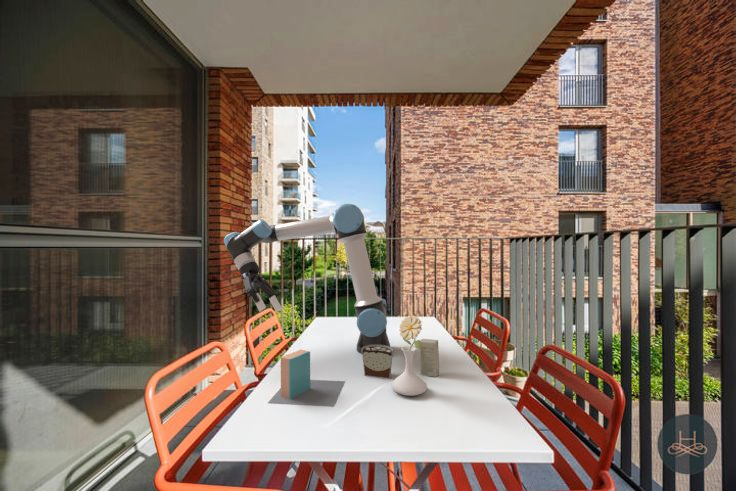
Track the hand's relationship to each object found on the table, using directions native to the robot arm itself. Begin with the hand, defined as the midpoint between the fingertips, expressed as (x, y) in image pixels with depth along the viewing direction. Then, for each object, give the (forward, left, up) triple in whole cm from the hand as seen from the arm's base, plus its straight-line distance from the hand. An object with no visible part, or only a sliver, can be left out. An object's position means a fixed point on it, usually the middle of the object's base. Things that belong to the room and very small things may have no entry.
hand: (271, 309), depth 131 cm
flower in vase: (-54, +18, -22) cm, 61 cm away
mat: (-22, +22, -22) cm, 38 cm away
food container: (-43, +4, -22) cm, 48 cm away
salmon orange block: (-18, +23, -21) cm, 36 cm away
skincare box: (-61, +2, -22) cm, 65 cm away
